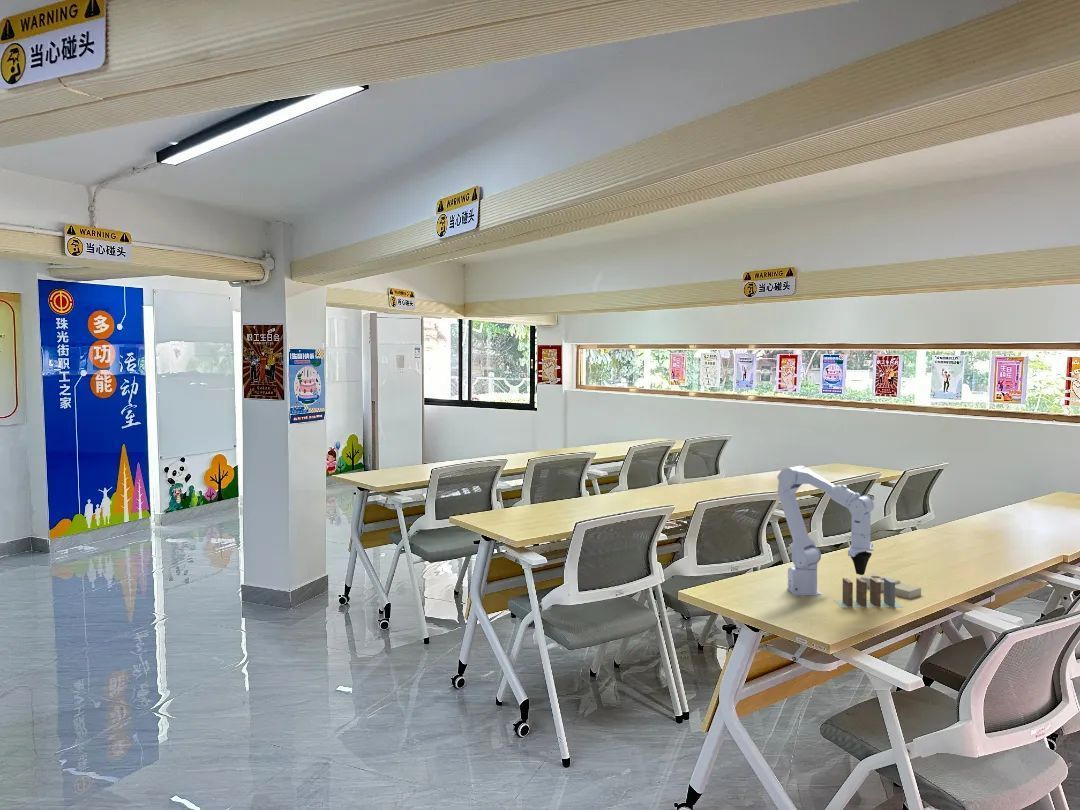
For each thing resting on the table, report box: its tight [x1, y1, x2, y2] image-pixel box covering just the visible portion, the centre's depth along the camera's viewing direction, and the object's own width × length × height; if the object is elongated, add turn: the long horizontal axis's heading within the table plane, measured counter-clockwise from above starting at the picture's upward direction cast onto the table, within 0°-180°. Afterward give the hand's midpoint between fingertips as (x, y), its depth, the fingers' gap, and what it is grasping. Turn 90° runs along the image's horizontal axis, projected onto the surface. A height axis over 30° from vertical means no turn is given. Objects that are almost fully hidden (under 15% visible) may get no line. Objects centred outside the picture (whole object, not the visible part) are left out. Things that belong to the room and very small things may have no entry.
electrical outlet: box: [860, 573, 922, 600], centre depth 255 cm, size 7×4×18 cm
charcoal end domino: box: [883, 577, 896, 608], centre depth 240 cm, size 1×5×8 cm, turn 178°
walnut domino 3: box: [869, 578, 882, 608], centre depth 241 cm, size 1×5×8 cm, turn 178°
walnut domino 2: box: [855, 577, 868, 608], centre depth 241 cm, size 1×5×8 cm, turn 178°
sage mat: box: [833, 599, 904, 608], centre depth 241 cm, size 20×7×1 cm, turn 88°
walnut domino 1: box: [842, 577, 854, 608], centre depth 241 cm, size 1×5×8 cm, turn 178°
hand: (860, 574), depth 241 cm, fingers closed
